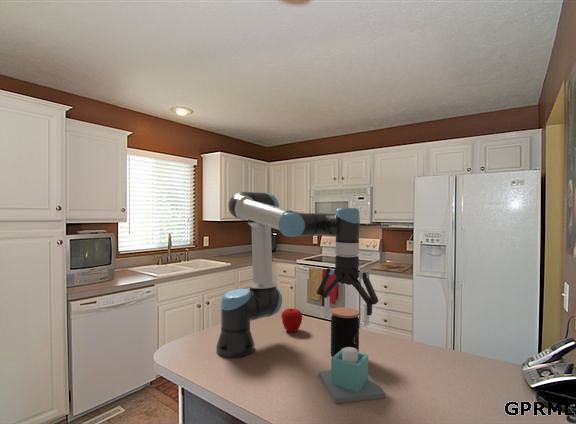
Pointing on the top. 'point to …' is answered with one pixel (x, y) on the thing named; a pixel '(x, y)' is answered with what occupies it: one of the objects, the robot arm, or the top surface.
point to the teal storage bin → (349, 372)
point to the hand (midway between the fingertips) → (345, 320)
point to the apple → (291, 319)
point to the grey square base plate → (345, 395)
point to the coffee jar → (344, 329)
